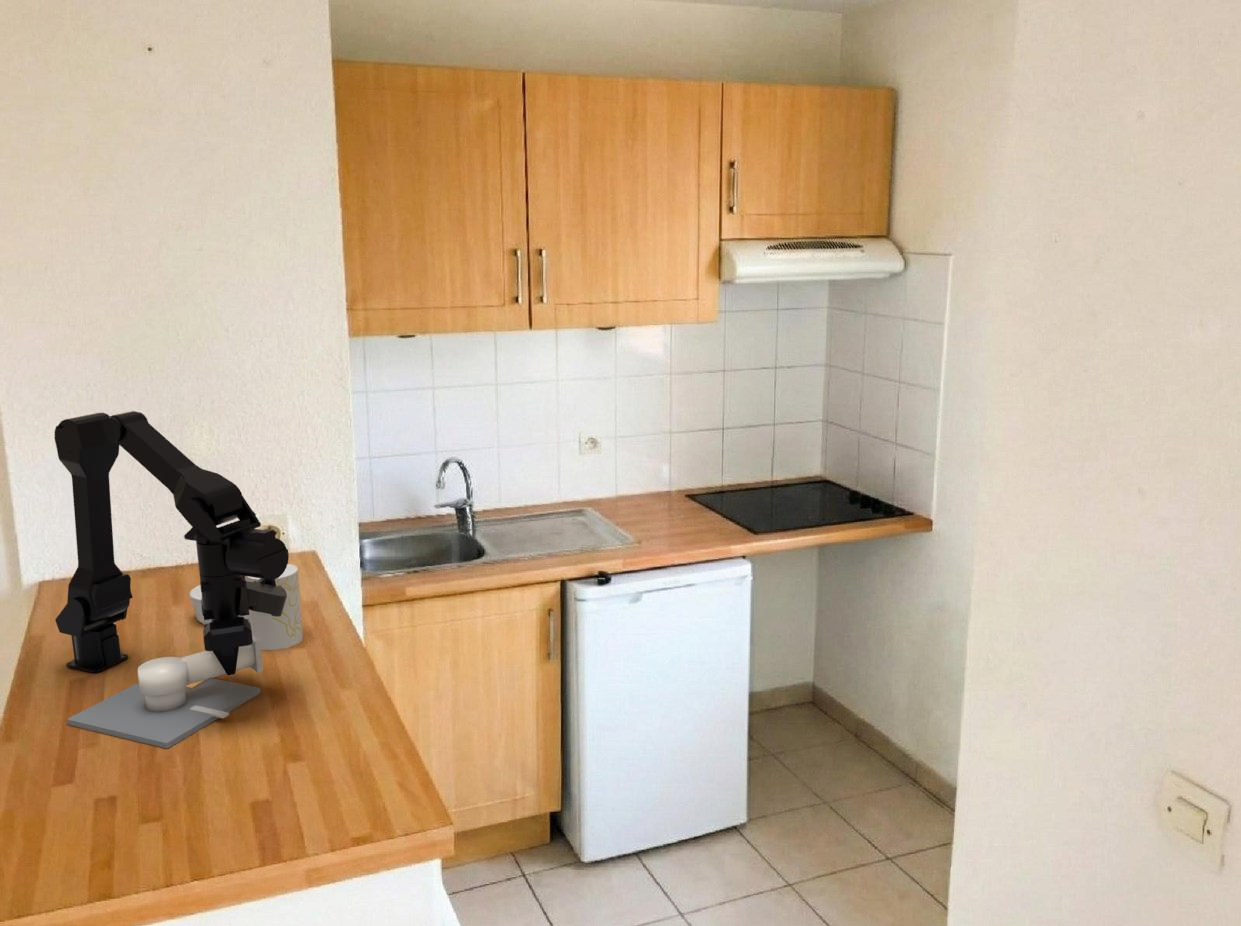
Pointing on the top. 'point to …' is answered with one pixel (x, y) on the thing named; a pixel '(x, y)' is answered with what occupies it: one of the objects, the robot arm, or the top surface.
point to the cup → (289, 624)
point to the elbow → (191, 669)
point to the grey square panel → (163, 711)
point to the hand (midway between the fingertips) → (231, 674)
